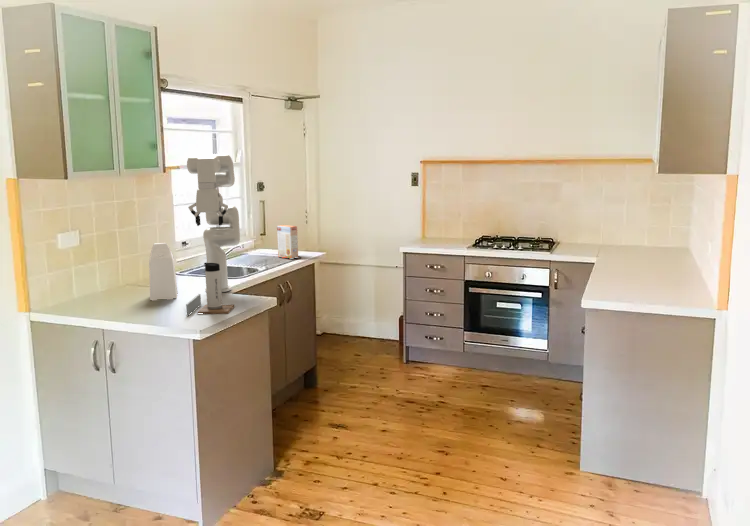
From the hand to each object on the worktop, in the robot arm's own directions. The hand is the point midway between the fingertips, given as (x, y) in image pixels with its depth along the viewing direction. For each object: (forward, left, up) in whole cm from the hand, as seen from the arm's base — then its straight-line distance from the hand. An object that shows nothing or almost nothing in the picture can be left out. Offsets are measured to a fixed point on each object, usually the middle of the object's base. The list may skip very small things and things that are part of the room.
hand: (209, 225), depth 295 cm
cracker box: (-129, +16, -37) cm, 135 cm away
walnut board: (+9, +3, -36) cm, 37 cm away
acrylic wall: (+8, -7, -36) cm, 38 cm away
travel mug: (+8, +2, -36) cm, 37 cm away
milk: (-20, -29, -37) cm, 51 cm away
